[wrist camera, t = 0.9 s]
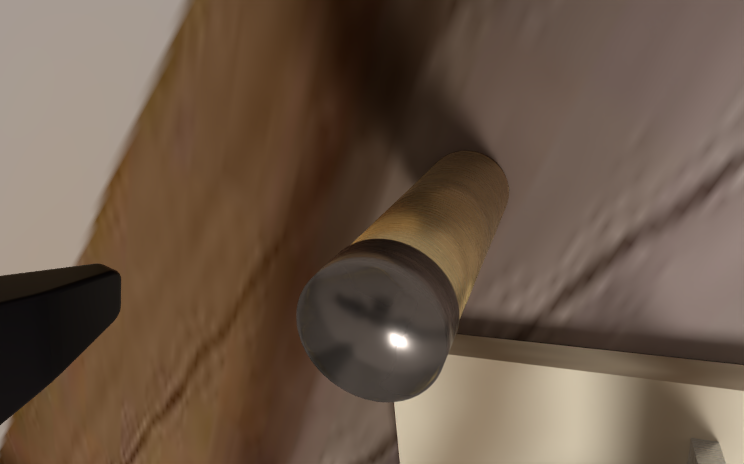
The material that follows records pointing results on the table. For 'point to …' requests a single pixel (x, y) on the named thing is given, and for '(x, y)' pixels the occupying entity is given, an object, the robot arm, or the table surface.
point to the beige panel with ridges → (572, 408)
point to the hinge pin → (404, 283)
